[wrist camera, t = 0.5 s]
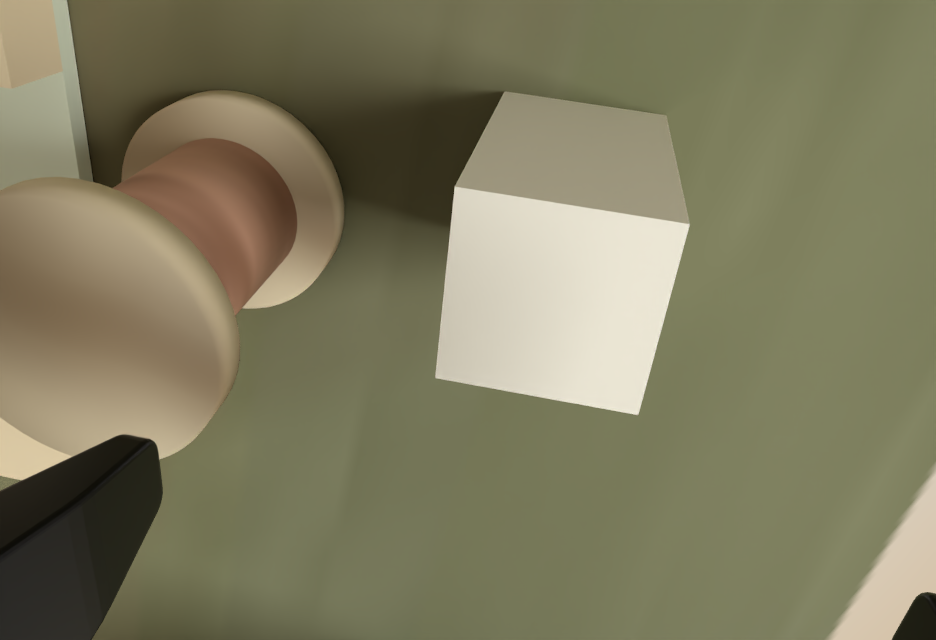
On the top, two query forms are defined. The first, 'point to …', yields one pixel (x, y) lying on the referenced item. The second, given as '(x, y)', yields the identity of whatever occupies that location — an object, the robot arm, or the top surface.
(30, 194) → the bobbin
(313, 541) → the top surface
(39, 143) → the notched board
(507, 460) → the top surface
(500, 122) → the block
